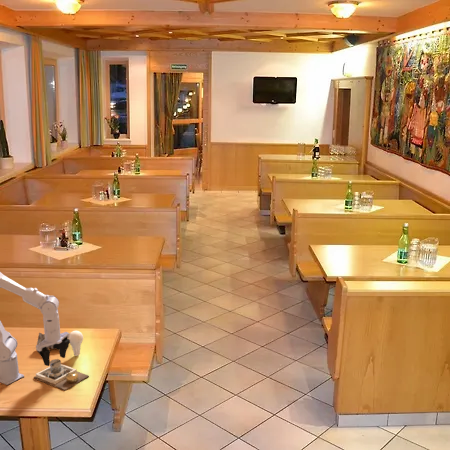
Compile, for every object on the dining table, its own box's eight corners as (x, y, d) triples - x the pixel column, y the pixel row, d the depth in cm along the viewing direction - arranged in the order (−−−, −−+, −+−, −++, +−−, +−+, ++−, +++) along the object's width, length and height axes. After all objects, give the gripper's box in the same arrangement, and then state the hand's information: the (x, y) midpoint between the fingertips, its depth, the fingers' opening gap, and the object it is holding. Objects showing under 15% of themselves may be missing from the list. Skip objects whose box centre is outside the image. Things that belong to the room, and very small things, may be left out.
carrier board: (33, 378, 220) (33, 377, 220) (58, 365, 230) (58, 364, 230) (64, 390, 211) (64, 389, 211) (89, 376, 221) (88, 375, 221)
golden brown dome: (64, 381, 216) (63, 375, 216) (72, 376, 220) (72, 370, 219) (72, 384, 214) (71, 378, 214) (80, 379, 218) (80, 373, 217)
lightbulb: (69, 360, 235) (67, 335, 232) (69, 353, 240) (67, 329, 238) (84, 357, 236) (82, 333, 233) (84, 351, 242) (82, 327, 239)
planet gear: (42, 376, 221) (40, 363, 220) (57, 368, 227) (56, 355, 226) (55, 381, 217) (54, 368, 215) (70, 373, 223) (69, 360, 222)
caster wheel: (71, 350, 249) (55, 357, 240) (51, 340, 253) (35, 347, 244) (74, 336, 247) (58, 342, 238) (54, 327, 252) (38, 332, 243)
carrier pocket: (35, 376, 220) (35, 374, 220) (57, 365, 229) (57, 362, 229) (54, 384, 215) (54, 381, 214) (76, 372, 223) (76, 369, 223)
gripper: (43, 337, 209) (46, 371, 213) (73, 324, 221) (76, 356, 224) (31, 333, 213) (34, 366, 216) (61, 320, 225) (64, 351, 228)
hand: (54, 361), depth 221 cm, fingers open, 7 cm apart
